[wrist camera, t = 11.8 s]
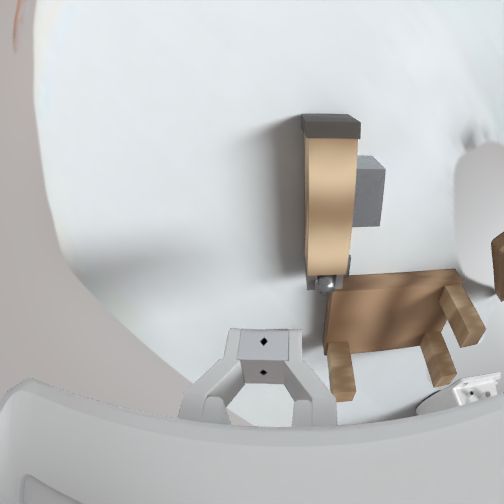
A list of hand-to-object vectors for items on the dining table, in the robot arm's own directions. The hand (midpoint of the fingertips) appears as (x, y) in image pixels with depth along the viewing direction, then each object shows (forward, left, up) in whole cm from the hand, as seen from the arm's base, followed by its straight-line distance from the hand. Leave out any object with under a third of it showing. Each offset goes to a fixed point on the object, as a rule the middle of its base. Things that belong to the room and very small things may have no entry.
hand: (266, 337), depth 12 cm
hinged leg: (-5, +1, -16) cm, 17 cm away
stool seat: (-13, +16, -16) cm, 26 cm away
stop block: (-8, 0, -16) cm, 18 cm away
